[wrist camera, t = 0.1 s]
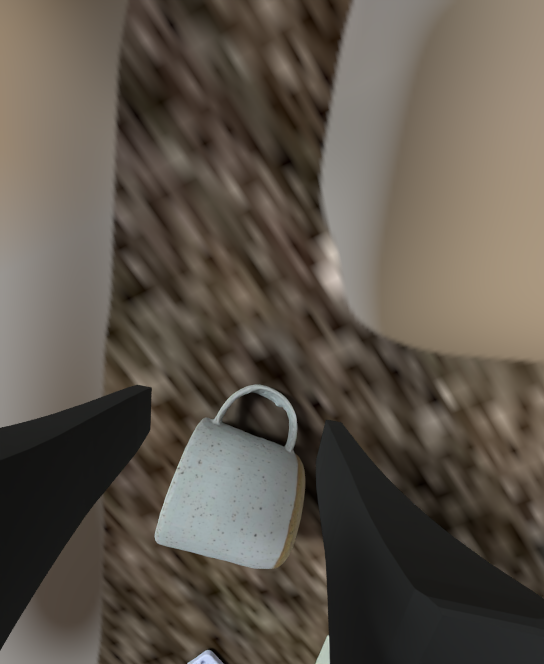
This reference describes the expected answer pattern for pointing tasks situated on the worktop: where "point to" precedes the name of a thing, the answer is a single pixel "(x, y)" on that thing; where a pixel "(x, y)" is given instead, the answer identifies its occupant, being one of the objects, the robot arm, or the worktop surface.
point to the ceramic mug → (236, 492)
